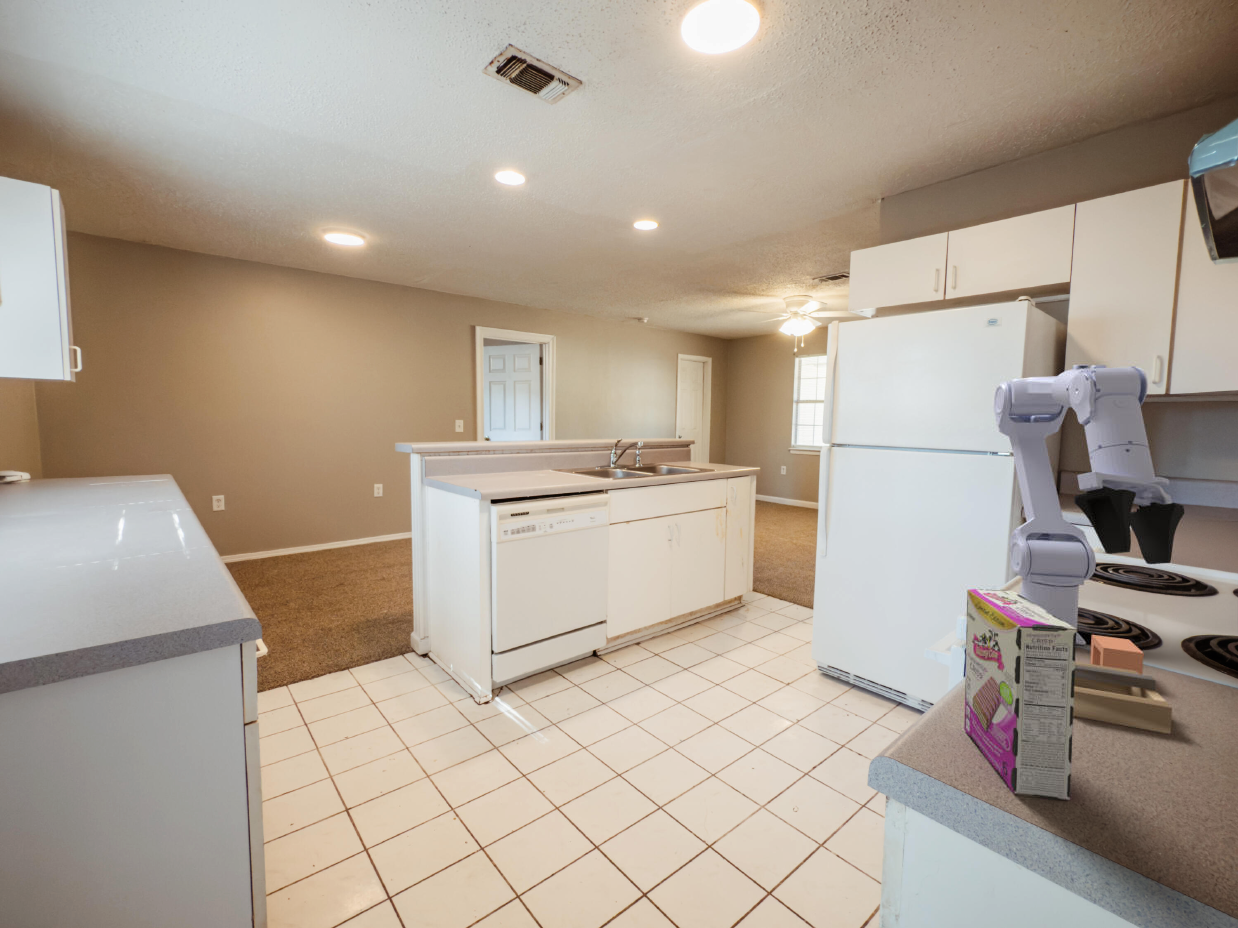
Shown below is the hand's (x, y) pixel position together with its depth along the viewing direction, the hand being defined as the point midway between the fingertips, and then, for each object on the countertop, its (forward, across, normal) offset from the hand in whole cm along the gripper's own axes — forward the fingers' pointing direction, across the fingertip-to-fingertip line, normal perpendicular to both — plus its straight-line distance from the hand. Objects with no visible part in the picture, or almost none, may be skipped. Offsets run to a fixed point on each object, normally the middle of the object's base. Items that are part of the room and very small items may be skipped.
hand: (1138, 558), depth 65 cm
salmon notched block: (+13, +11, +10) cm, 20 cm away
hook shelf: (+17, +1, +7) cm, 18 cm away
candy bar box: (+24, -20, +4) cm, 32 cm away
